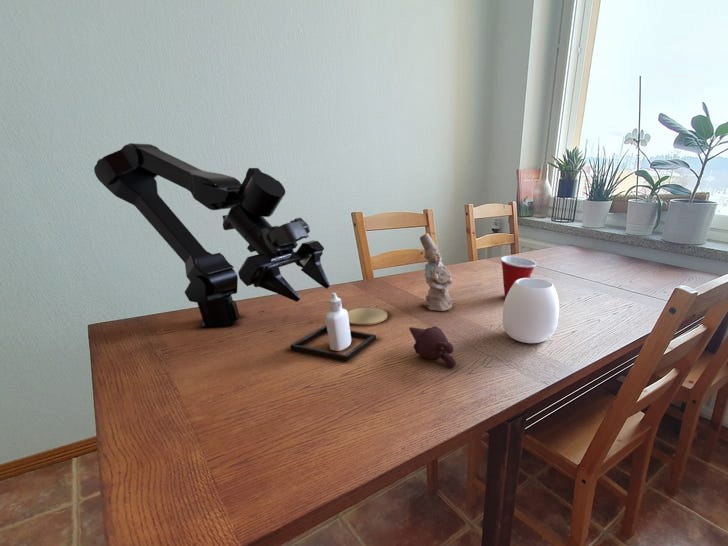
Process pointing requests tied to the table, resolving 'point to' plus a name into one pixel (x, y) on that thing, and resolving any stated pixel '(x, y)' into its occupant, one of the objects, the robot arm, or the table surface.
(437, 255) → the figurine
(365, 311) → the cork trivet
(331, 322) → the eye dropper bottle
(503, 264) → the plastic cup
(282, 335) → the table surface
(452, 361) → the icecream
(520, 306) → the white vase
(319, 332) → the empty black square frame
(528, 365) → the table surface
